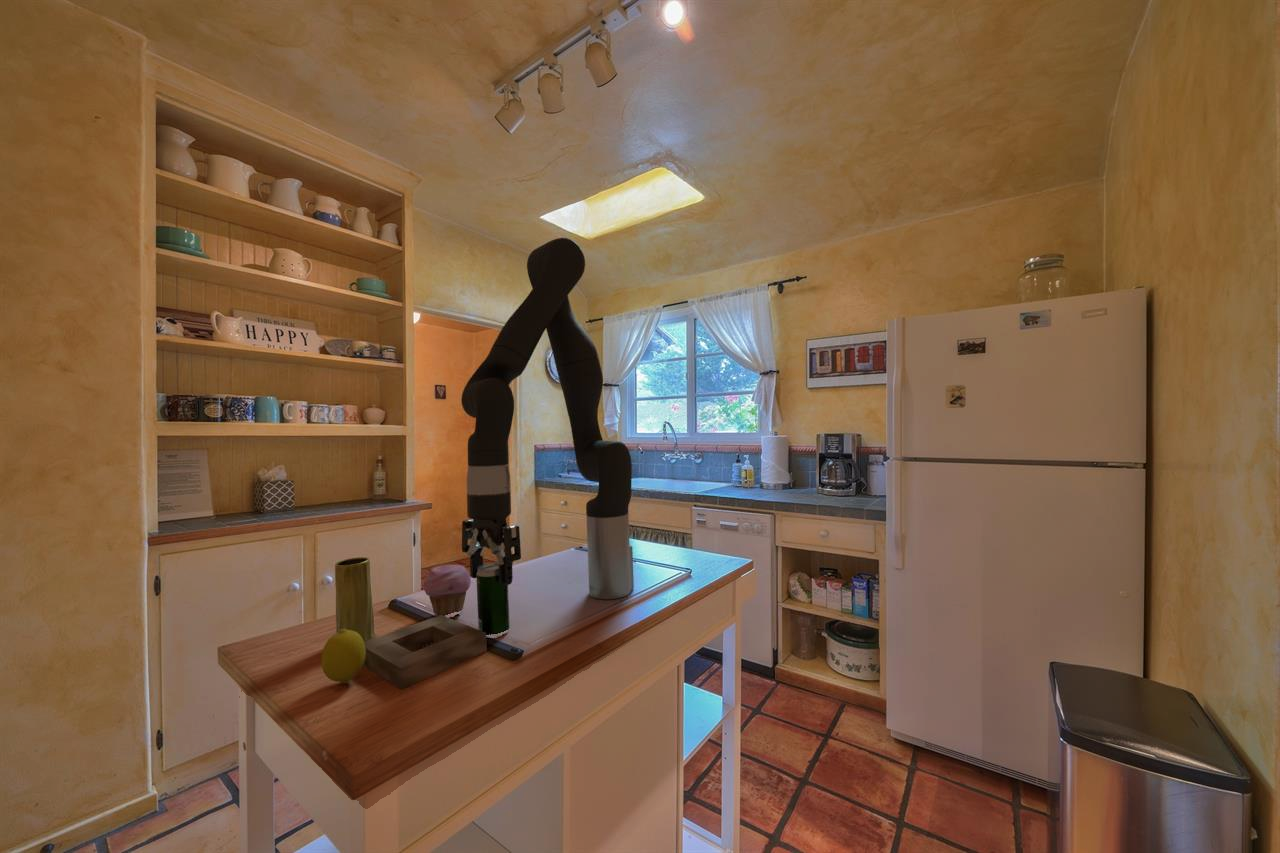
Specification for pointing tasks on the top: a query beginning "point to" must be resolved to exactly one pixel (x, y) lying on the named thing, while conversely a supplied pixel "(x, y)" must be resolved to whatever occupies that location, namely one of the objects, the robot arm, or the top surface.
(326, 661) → the lemon
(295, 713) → the top surface
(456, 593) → the cupcake
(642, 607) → the top surface
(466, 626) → the can holder block
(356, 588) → the vase
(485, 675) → the top surface
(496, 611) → the beer can
